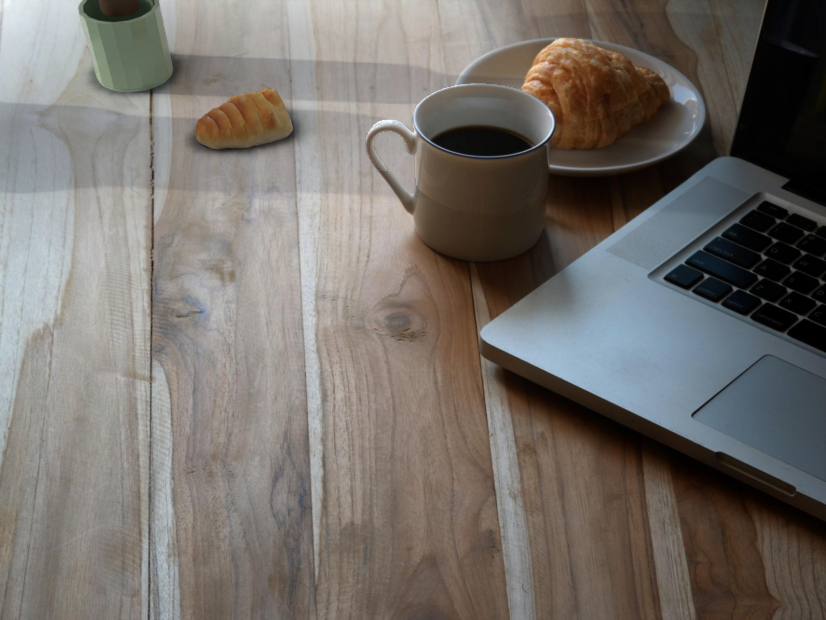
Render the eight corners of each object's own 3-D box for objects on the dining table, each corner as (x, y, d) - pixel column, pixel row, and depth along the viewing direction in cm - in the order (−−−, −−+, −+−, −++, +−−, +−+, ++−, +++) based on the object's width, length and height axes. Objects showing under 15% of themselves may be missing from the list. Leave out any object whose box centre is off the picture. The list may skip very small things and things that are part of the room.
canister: (86, 90, 99) (66, 20, 93) (113, 52, 105) (95, -17, 99) (160, 97, 99) (144, 27, 93) (182, 58, 104) (169, -11, 98)
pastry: (211, 165, 91) (205, 131, 88) (186, 130, 95) (179, 97, 92) (299, 138, 94) (295, 105, 92) (271, 106, 98) (267, 73, 96)
